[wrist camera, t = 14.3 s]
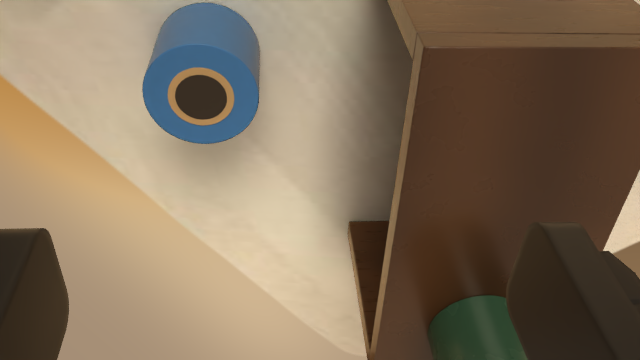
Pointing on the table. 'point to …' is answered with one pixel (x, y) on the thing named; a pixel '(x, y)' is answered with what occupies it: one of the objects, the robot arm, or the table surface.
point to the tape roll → (203, 74)
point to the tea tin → (475, 331)
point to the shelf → (496, 151)
